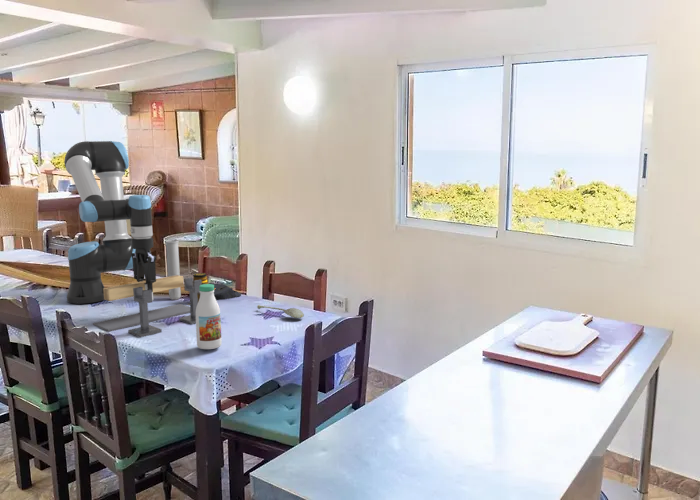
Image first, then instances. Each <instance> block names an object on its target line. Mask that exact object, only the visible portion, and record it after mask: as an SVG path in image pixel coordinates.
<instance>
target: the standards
mask: <svg viewBox="0 0 700 500" xmlns="http://www.w3.org/2000/svg"><path fill="white" fill-rule="evenodd" d="M183 281H184V289H183V290H184V291H185V292H189V303H190V305H189V307H190V313H189V315H185V316H182V317H180V316H179V317H178V320H179V322H183V323H186V324H189V325H194V324H195V325H196V307H197V304H198V298H197V293H199V292H200V290H199V286H200V285H202V280H195V281H193V277H186V278H183ZM133 294H134V296H133V301H134V302H137V303H138V308H139V309H138V310H139V313H140V325H139V327H135V328H131V329H128V330H127V332H128V334H131V335H133V336H136V337H138V338H144V337H147V336H151V335H155V334H159V333H162V328H159V327H157V326H153V325H150V322H149V320H148V311H149V305H148V304H150V303H153V300H152V290H151V289H148V290H143V287H137V288H133Z"/></svg>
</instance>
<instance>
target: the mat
mask: <svg viewBox="0 0 700 500" xmlns="http://www.w3.org/2000/svg"><path fill="white" fill-rule="evenodd" d="M187 314H190V305H184V304H182V303H179V304H178V303H177V304H174V305H169V306H164V307H160V308H155V309H152V310H151V309H150V310H148V320H149V323H153V322H157V321H161V320H166V319H170V318H173V317H177V316H178V317H180V316H182V315H187ZM92 325H93V327H97V328H99V329H101V330H104V331H106V332H108V333H111V332H115V331H119V330H120V331H121V330H124V329H128V328H132V327H136V326H140V312H138V313H133V314H128V315H125V316H120V317H115V318H110V319H107V320H101V321H96V322H92Z"/></svg>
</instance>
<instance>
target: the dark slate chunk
mask: <svg viewBox="0 0 700 500" xmlns="http://www.w3.org/2000/svg"><path fill="white" fill-rule="evenodd" d="M208 284H213V285H214V288H216V289H215V290H214V297H215V299H216V301H219V300H231V299H234V298H239V297H240V296H242V293H240V292H239V291H238V290H234V289H233V288H232V287H230V286H227V285H226V284H223V283H215V282H208Z"/></svg>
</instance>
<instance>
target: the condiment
mask: <svg viewBox="0 0 700 500" xmlns="http://www.w3.org/2000/svg"><path fill="white" fill-rule="evenodd" d="M192 276H193V277H192V279H193V281H195V280H202V285H203V284H208V283H209V282H208V279H207V273H205V272H198V273H194V274H193V275H192ZM197 298H198V302H199V299H200V292H199V293H197ZM186 306H190V302H189V303H187V305H186Z"/></svg>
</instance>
